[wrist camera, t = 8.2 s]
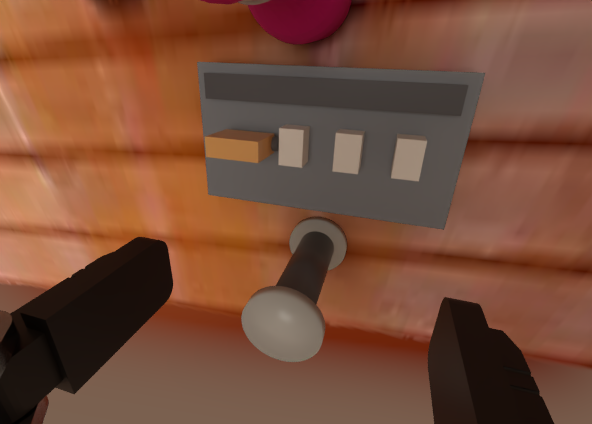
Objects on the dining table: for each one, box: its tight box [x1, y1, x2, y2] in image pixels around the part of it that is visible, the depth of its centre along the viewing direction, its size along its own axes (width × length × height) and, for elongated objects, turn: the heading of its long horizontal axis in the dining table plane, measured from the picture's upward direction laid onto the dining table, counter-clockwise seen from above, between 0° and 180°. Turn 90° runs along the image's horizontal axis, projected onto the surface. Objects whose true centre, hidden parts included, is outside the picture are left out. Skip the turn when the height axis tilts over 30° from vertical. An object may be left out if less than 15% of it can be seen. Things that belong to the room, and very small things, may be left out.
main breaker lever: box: [205, 129, 279, 163], centre depth 26 cm, size 5×2×4 cm, turn 88°
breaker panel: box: [197, 62, 485, 230], centre depth 27 cm, size 22×12×5 cm, turn 87°
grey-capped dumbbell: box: [242, 217, 347, 362], centre depth 28 cm, size 6×6×13 cm
